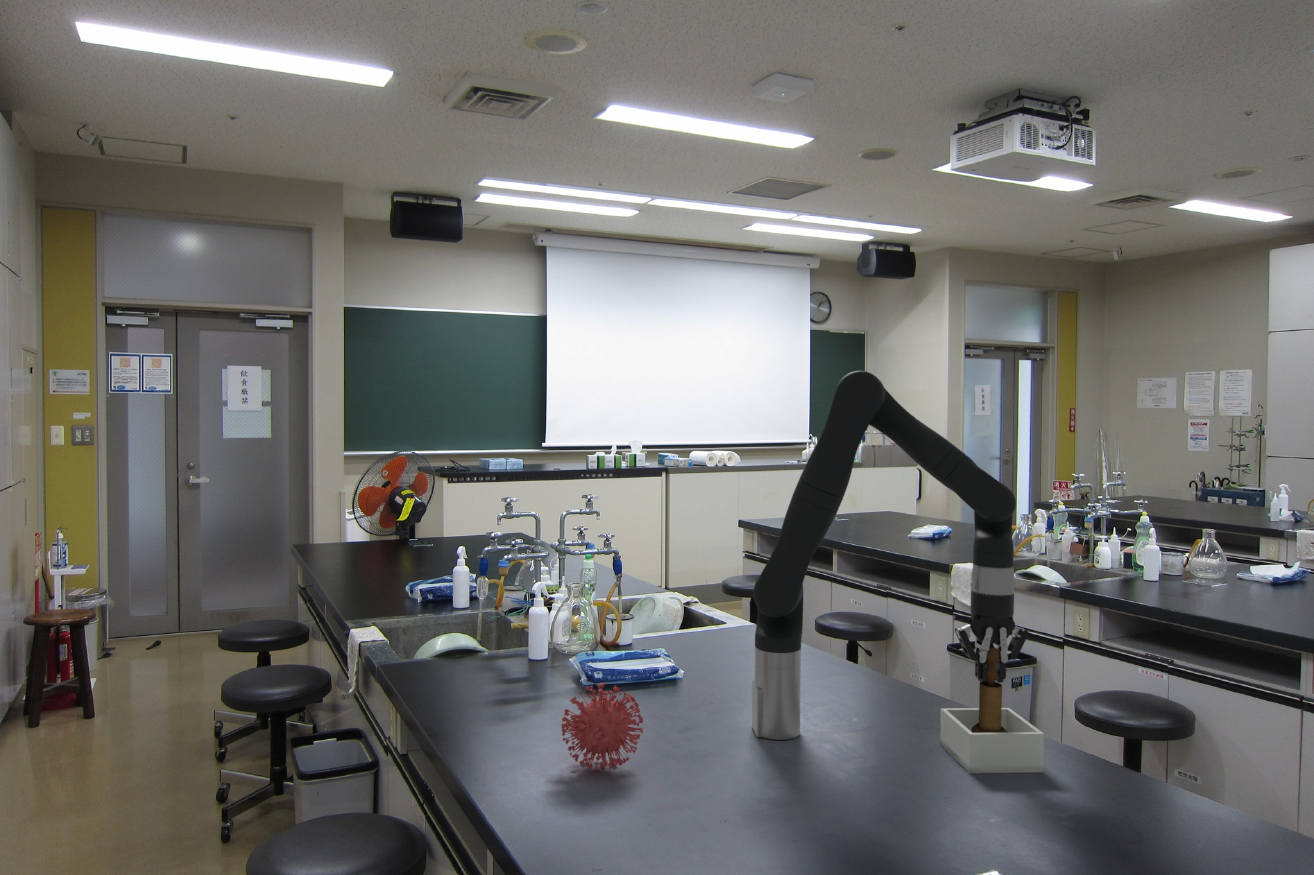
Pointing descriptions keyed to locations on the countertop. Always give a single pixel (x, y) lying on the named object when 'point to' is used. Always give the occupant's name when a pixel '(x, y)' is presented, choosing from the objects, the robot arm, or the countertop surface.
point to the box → (992, 743)
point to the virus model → (603, 727)
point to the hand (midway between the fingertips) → (990, 681)
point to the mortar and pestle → (990, 698)
